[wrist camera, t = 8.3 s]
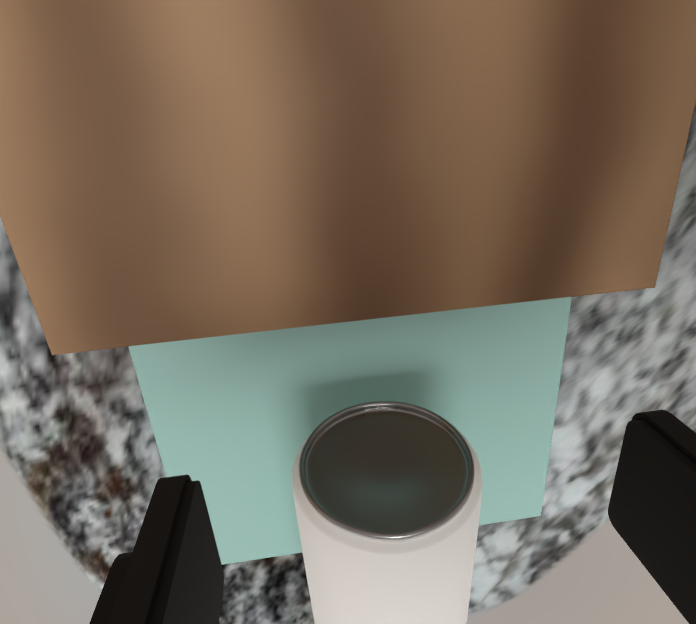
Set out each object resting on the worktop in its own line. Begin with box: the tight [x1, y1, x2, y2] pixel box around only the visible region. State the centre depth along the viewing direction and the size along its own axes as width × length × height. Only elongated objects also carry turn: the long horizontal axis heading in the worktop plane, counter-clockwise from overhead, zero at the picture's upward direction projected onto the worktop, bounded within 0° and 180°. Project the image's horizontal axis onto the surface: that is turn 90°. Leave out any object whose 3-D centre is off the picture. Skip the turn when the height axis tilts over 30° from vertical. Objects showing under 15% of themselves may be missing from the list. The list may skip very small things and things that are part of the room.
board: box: [0, 0, 696, 355], centre depth 14 cm, size 20×12×4 cm, turn 93°
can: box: [292, 401, 482, 624], centre depth 19 cm, size 6×6×12 cm
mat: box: [128, 297, 572, 564], centre depth 21 cm, size 18×14×1 cm
